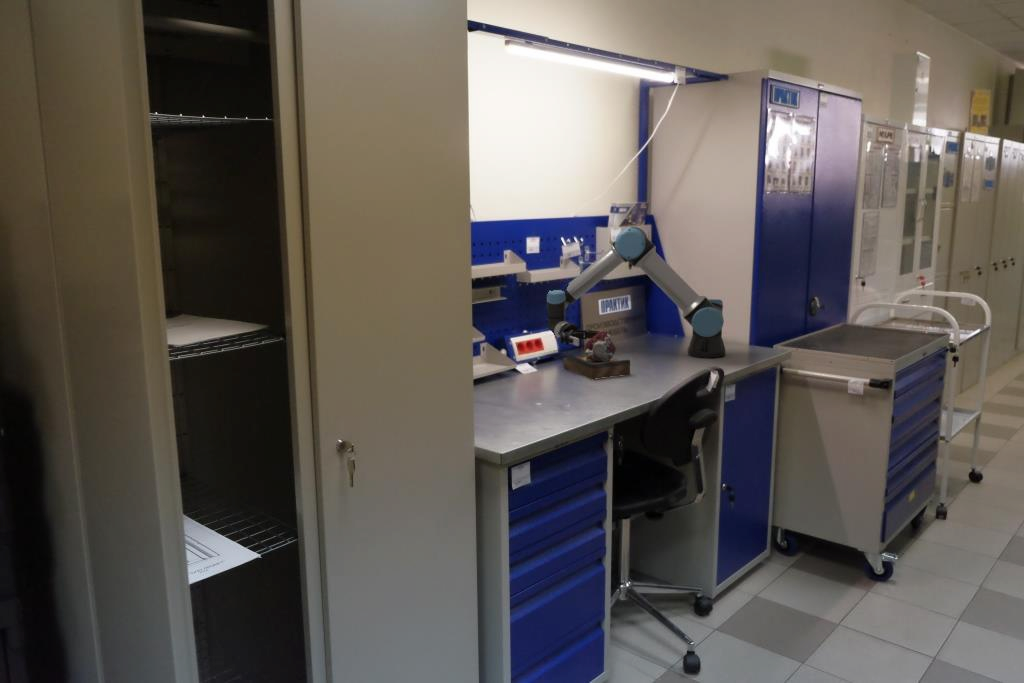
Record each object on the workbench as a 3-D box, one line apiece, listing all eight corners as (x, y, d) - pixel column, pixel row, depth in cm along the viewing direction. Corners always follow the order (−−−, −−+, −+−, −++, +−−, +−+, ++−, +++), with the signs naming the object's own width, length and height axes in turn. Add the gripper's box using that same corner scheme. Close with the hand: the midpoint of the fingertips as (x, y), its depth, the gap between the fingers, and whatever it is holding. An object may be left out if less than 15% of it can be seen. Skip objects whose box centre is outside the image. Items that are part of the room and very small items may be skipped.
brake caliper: (616, 352, 283) (618, 330, 275) (612, 374, 276) (613, 352, 267) (587, 348, 286) (587, 326, 277) (581, 369, 278) (581, 347, 270)
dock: (599, 363, 294) (599, 349, 293) (629, 374, 275) (630, 360, 274) (563, 367, 288) (563, 353, 287) (591, 379, 268) (591, 364, 267)
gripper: (594, 338, 304) (622, 347, 285) (539, 344, 295) (564, 353, 275) (594, 320, 303) (622, 327, 284) (539, 325, 293) (564, 333, 274)
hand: (594, 340), depth 280 cm, fingers open, 13 cm apart
